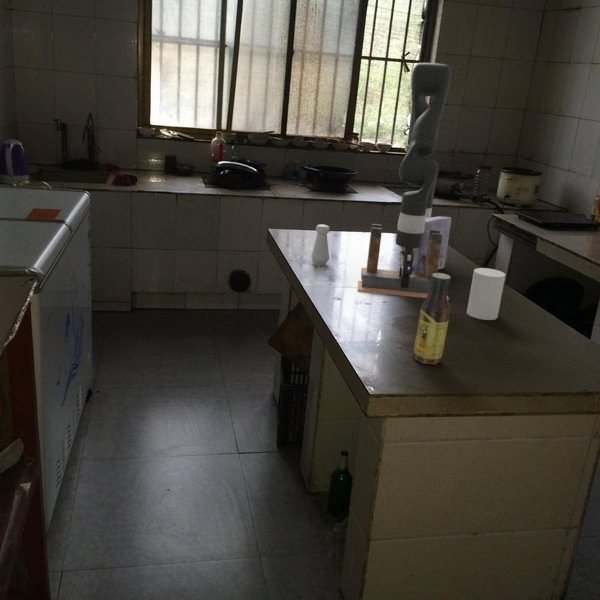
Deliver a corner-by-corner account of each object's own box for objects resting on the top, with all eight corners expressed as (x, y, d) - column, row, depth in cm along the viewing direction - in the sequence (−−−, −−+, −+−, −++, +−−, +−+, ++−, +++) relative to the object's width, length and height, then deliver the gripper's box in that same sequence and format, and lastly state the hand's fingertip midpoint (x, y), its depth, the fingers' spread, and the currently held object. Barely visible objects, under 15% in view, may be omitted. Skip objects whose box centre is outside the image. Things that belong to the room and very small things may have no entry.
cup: (498, 312, 179) (506, 271, 175) (496, 322, 172) (504, 278, 168) (468, 307, 181) (475, 266, 178) (465, 316, 174) (472, 273, 170)
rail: (442, 292, 192) (444, 280, 191) (444, 295, 189) (445, 283, 187) (361, 283, 193) (362, 272, 192) (361, 286, 190) (362, 275, 189)
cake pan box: (434, 264, 223) (441, 213, 218) (447, 268, 220) (455, 216, 214) (403, 273, 209) (411, 219, 204) (417, 277, 206) (425, 222, 200)
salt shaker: (329, 262, 214) (332, 224, 210) (328, 267, 209) (331, 228, 205) (311, 261, 215) (314, 222, 210) (309, 265, 209) (313, 226, 205)
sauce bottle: (409, 354, 146) (422, 269, 140) (436, 355, 147) (450, 271, 141) (417, 366, 140) (430, 278, 134) (445, 367, 141) (459, 280, 134)
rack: (436, 279, 205) (444, 230, 200) (439, 287, 198) (447, 236, 193) (361, 272, 207) (366, 222, 202) (361, 279, 199) (367, 228, 194)
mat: (444, 290, 195) (444, 289, 194) (448, 300, 186) (448, 298, 186) (358, 282, 196) (358, 280, 196) (358, 291, 188) (358, 289, 187)
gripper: (426, 236, 178) (418, 292, 183) (421, 225, 192) (414, 277, 197) (398, 233, 179) (391, 289, 184) (396, 222, 192) (389, 275, 197)
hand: (403, 283), depth 190 cm, fingers open, 8 cm apart
